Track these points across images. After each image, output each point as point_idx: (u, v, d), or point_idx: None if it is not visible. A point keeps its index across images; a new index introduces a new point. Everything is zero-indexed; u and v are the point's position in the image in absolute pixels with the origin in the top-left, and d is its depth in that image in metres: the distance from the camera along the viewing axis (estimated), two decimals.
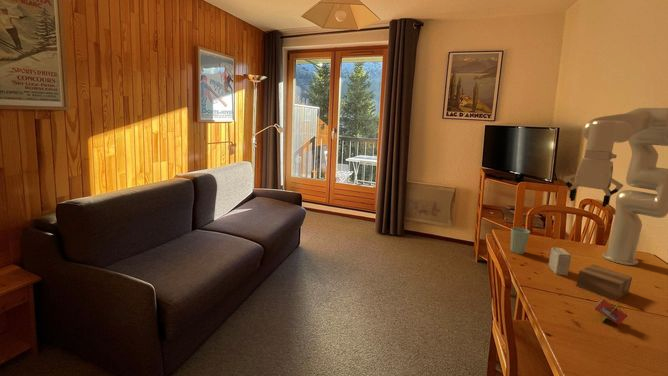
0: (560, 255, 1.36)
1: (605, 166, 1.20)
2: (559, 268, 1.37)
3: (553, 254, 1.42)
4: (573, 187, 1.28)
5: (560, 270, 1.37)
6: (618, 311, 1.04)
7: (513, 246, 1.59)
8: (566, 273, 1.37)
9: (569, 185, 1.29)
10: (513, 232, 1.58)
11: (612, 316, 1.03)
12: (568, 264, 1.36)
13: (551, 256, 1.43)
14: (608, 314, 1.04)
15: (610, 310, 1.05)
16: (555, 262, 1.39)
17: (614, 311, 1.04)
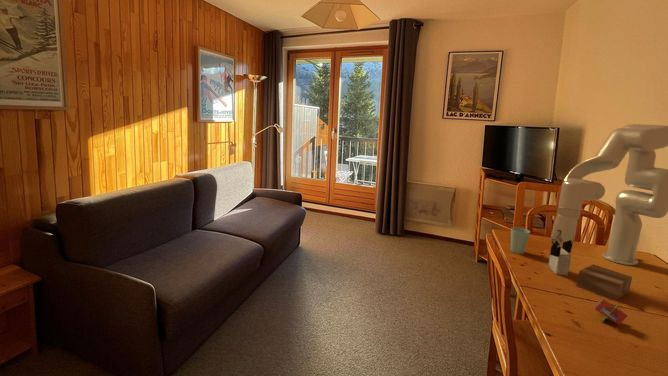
0: (560, 255, 1.36)
1: None
2: (559, 268, 1.37)
3: None
4: (560, 244, 1.35)
5: (560, 270, 1.37)
6: (618, 311, 1.04)
7: (513, 246, 1.59)
8: (566, 273, 1.37)
9: (557, 243, 1.34)
10: (513, 232, 1.58)
11: (612, 316, 1.03)
12: (568, 264, 1.36)
13: (551, 256, 1.43)
14: (608, 314, 1.04)
15: (610, 310, 1.05)
16: (555, 262, 1.39)
17: (614, 311, 1.04)
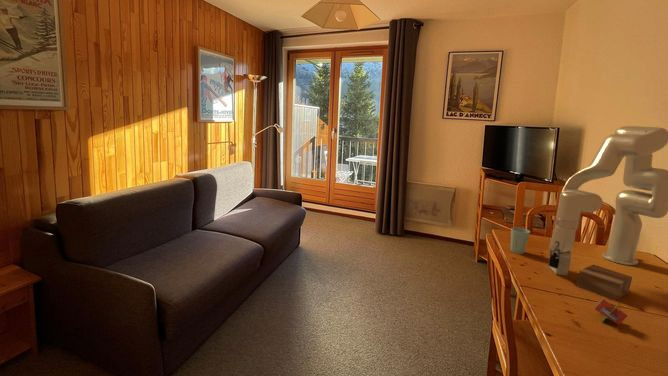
0: (560, 255, 1.36)
1: None
2: (559, 268, 1.37)
3: None
4: (558, 256, 1.36)
5: (560, 269, 1.37)
6: (618, 311, 1.04)
7: (513, 246, 1.59)
8: (566, 273, 1.37)
9: (555, 255, 1.35)
10: (513, 232, 1.58)
11: (612, 316, 1.03)
12: (568, 264, 1.36)
13: None
14: (608, 314, 1.04)
15: (610, 310, 1.05)
16: None
17: (614, 311, 1.04)
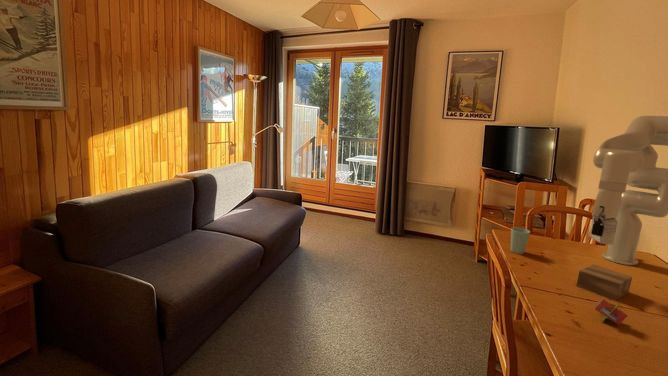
0: (605, 221, 1.22)
1: (621, 195, 1.23)
2: (604, 236, 1.23)
3: None
4: (603, 222, 1.22)
5: (604, 238, 1.23)
6: (618, 311, 1.04)
7: (513, 246, 1.59)
8: (612, 242, 1.23)
9: (600, 221, 1.21)
10: (513, 232, 1.58)
11: (612, 316, 1.03)
12: (614, 231, 1.22)
13: None
14: (608, 314, 1.04)
15: (610, 310, 1.05)
16: None
17: (614, 311, 1.04)
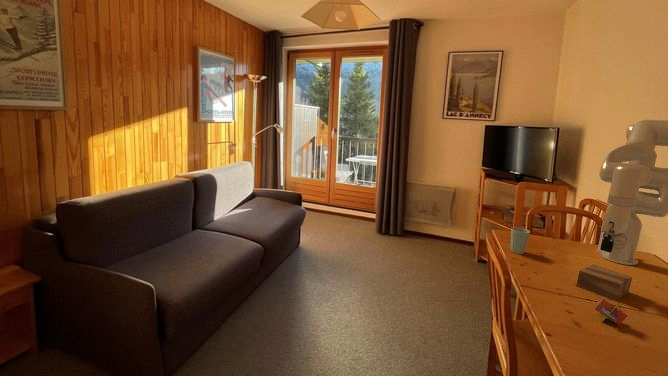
0: (614, 237, 1.19)
1: (630, 210, 1.21)
2: (613, 252, 1.20)
3: None
4: (613, 238, 1.19)
5: (614, 254, 1.20)
6: (618, 311, 1.04)
7: (513, 246, 1.59)
8: (622, 258, 1.20)
9: (610, 237, 1.19)
10: (513, 232, 1.58)
11: (612, 316, 1.03)
12: (624, 247, 1.19)
13: (601, 239, 1.26)
14: (608, 314, 1.04)
15: (610, 310, 1.05)
16: None
17: (614, 311, 1.04)
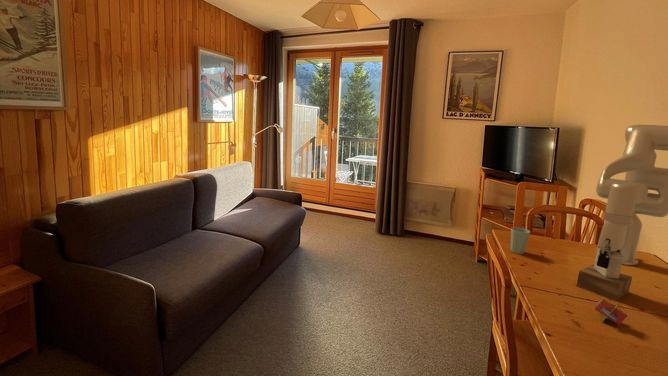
0: (611, 256, 1.21)
1: (627, 227, 1.22)
2: (609, 270, 1.22)
3: None
4: (609, 254, 1.20)
5: (610, 272, 1.22)
6: (618, 311, 1.04)
7: (513, 246, 1.59)
8: (617, 276, 1.22)
9: (606, 253, 1.20)
10: (513, 232, 1.58)
11: (612, 316, 1.03)
12: (619, 266, 1.21)
13: None
14: (608, 314, 1.04)
15: (610, 310, 1.05)
16: None
17: (614, 311, 1.04)
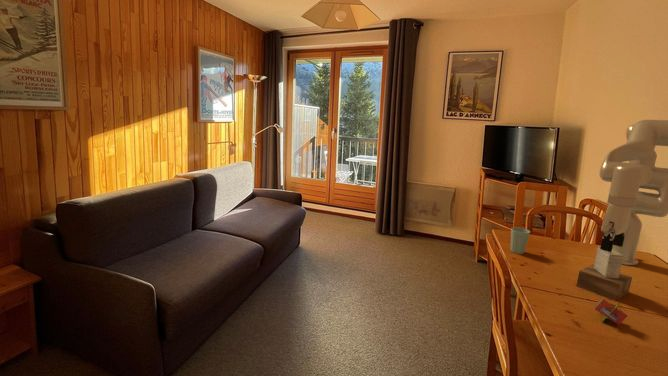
0: (611, 256, 1.21)
1: (630, 210, 1.21)
2: (609, 270, 1.22)
3: (600, 254, 1.26)
4: (613, 237, 1.19)
5: (610, 272, 1.22)
6: (618, 311, 1.04)
7: (513, 246, 1.59)
8: (617, 276, 1.22)
9: (610, 237, 1.19)
10: (513, 232, 1.58)
11: (612, 316, 1.03)
12: (619, 266, 1.21)
13: (598, 257, 1.28)
14: (608, 314, 1.04)
15: (610, 310, 1.05)
16: (604, 263, 1.23)
17: (614, 311, 1.04)
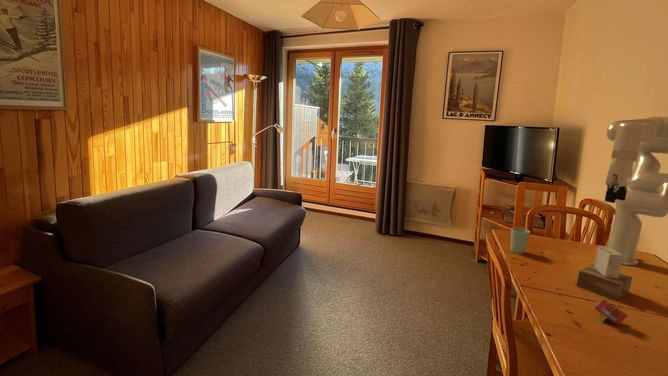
0: (611, 256, 1.21)
1: None
2: (609, 270, 1.22)
3: (600, 254, 1.26)
4: (616, 189, 1.29)
5: (610, 272, 1.22)
6: (618, 311, 1.04)
7: (513, 246, 1.59)
8: (617, 276, 1.22)
9: (613, 188, 1.28)
10: (513, 232, 1.58)
11: (612, 316, 1.03)
12: (619, 266, 1.21)
13: (598, 257, 1.28)
14: (608, 314, 1.04)
15: (610, 310, 1.05)
16: (604, 263, 1.23)
17: (614, 311, 1.04)
